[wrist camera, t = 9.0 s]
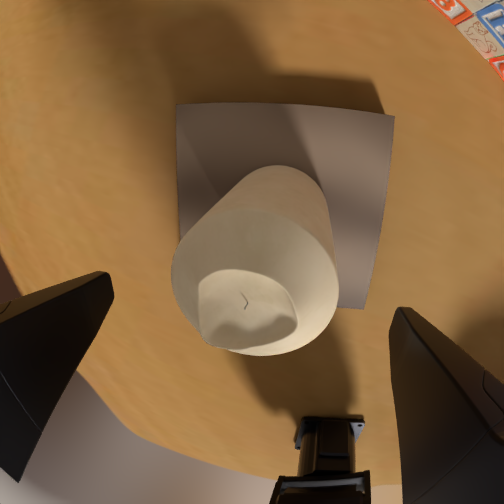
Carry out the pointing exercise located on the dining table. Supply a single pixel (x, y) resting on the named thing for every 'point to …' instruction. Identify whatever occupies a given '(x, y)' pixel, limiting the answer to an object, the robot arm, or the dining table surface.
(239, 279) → the candle
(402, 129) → the dining table surface
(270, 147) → the grey square slab
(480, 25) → the stack of blocks
